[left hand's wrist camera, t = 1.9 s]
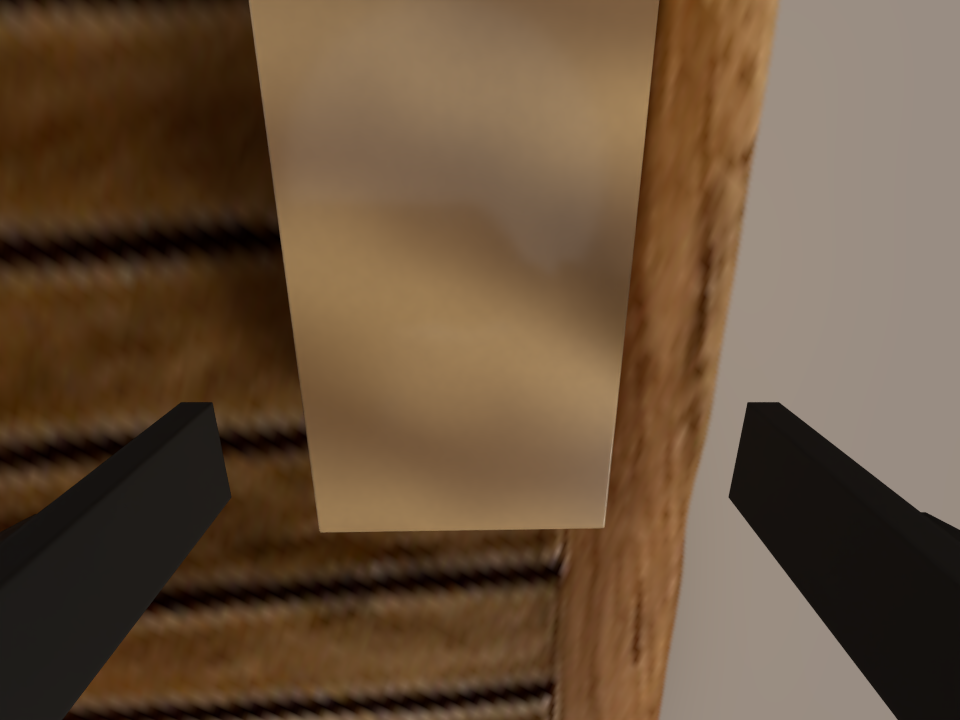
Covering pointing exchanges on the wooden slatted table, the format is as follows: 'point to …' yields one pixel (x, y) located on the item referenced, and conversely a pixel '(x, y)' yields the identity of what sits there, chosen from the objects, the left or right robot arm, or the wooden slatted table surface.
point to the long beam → (457, 249)
